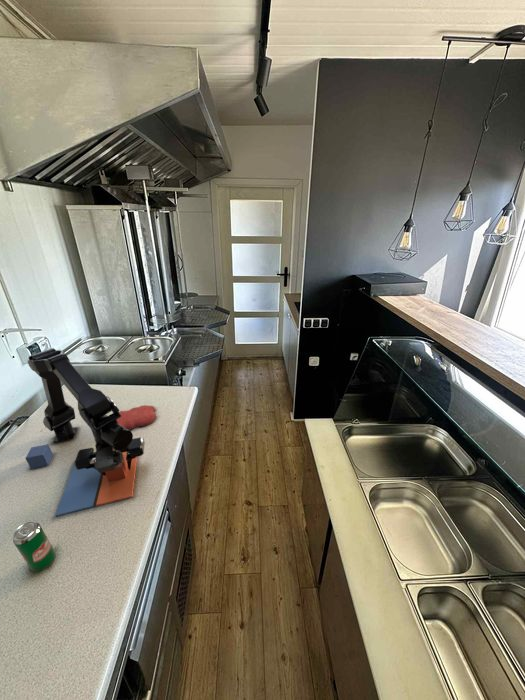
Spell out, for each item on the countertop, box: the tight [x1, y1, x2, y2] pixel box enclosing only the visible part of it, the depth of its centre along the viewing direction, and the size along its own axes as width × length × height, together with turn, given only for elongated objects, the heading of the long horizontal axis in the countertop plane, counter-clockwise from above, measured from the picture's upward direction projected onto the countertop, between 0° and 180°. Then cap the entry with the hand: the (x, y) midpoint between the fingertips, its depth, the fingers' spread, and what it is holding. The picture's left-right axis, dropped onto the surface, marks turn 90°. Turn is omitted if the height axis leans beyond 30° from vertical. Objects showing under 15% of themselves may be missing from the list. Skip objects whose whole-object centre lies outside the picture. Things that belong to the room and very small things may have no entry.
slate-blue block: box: [25, 443, 54, 470], centre depth 96 cm, size 5×5×5 cm
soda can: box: [12, 520, 56, 572], centre depth 67 cm, size 5×5×12 cm
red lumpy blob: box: [117, 405, 157, 431], centre depth 116 cm, size 18×14×2 cm
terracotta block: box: [105, 455, 127, 482], centre depth 91 cm, size 5×5×5 cm
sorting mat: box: [54, 452, 138, 517], centre depth 91 cm, size 20×20×1 cm
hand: (117, 471), depth 92 cm, fingers open, 7 cm apart
